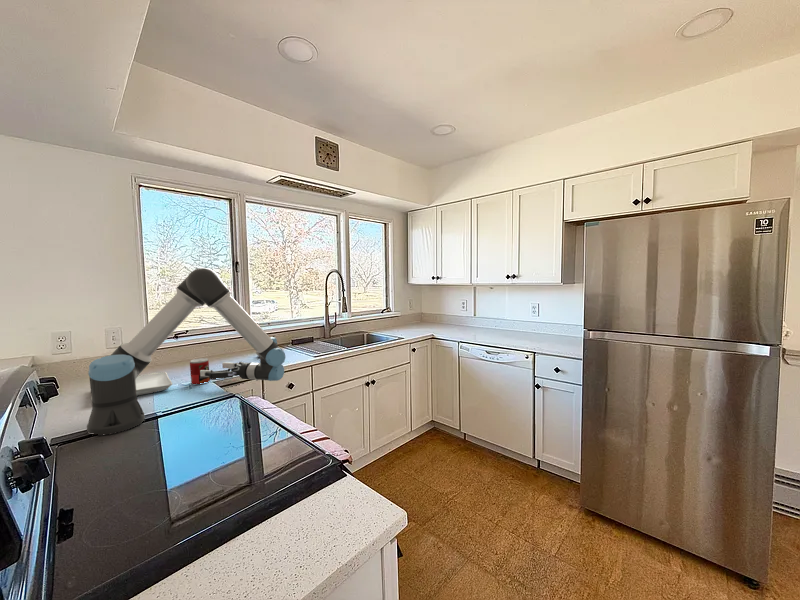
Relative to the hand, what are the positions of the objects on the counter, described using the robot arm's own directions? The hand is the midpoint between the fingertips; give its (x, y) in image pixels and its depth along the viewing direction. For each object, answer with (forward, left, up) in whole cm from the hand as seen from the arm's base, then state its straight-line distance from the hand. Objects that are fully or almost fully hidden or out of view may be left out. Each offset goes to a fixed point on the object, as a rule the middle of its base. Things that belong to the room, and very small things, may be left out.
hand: (212, 369), depth 161 cm
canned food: (0, +7, -7) cm, 10 cm away
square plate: (-15, +29, -7) cm, 33 cm away
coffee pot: (+50, +4, -7) cm, 50 cm away
